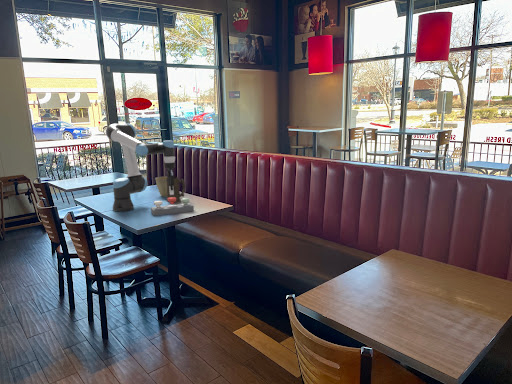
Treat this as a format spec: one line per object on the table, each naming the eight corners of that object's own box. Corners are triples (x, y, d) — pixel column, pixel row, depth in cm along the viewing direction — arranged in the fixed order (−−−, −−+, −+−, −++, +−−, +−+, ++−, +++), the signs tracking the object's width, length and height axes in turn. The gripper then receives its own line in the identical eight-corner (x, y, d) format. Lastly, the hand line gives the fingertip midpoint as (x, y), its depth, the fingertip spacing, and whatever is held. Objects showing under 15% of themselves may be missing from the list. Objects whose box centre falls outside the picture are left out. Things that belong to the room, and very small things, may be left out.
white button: (154, 208, 264) (154, 202, 264) (153, 206, 270) (153, 201, 269) (163, 207, 267) (163, 202, 266) (161, 205, 272) (161, 200, 271)
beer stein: (166, 202, 303) (166, 178, 299) (165, 199, 313) (165, 176, 309) (185, 202, 307) (185, 178, 303) (184, 199, 317) (184, 176, 313)
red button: (168, 204, 268) (168, 199, 267) (167, 203, 274) (166, 197, 273) (177, 203, 271) (176, 198, 270) (175, 202, 276) (174, 196, 275)
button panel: (153, 215, 263) (153, 209, 262) (151, 212, 272) (150, 206, 271) (193, 210, 275) (193, 205, 274) (190, 208, 284) (189, 202, 283)
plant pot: (158, 194, 336) (157, 176, 333) (174, 193, 337) (173, 176, 334) (154, 197, 322) (153, 179, 319) (172, 197, 323) (171, 179, 319)
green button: (182, 205, 273) (182, 199, 272) (180, 203, 278) (180, 198, 277) (190, 204, 275) (190, 199, 274) (188, 202, 281) (188, 197, 280)
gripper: (177, 162, 262) (179, 195, 266) (172, 161, 273) (174, 192, 278) (166, 163, 259) (168, 196, 263) (162, 161, 270) (164, 193, 275)
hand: (171, 194), depth 271 cm, fingers closed
